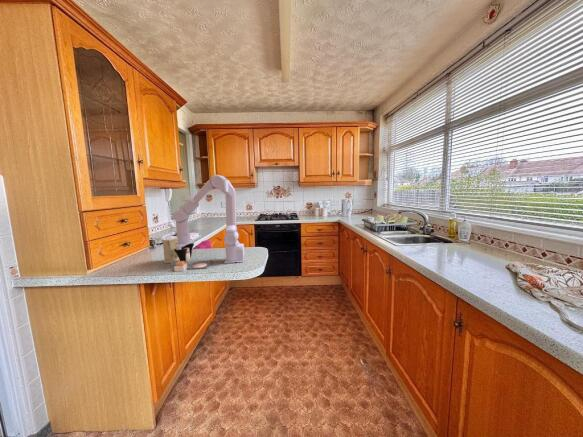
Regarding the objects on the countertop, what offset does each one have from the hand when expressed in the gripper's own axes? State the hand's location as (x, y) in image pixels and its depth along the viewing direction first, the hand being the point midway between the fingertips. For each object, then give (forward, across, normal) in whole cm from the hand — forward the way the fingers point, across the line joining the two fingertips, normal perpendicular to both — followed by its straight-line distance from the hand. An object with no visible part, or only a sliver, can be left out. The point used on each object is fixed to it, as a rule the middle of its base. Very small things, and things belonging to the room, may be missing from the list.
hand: (186, 259), depth 117 cm
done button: (+1, +8, +1) cm, 8 cm away
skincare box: (+2, -6, -10) cm, 11 cm away
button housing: (+2, +8, 0) cm, 8 cm away
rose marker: (+2, 0, 0) cm, 2 cm away
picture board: (+2, +4, +8) cm, 9 cm away
